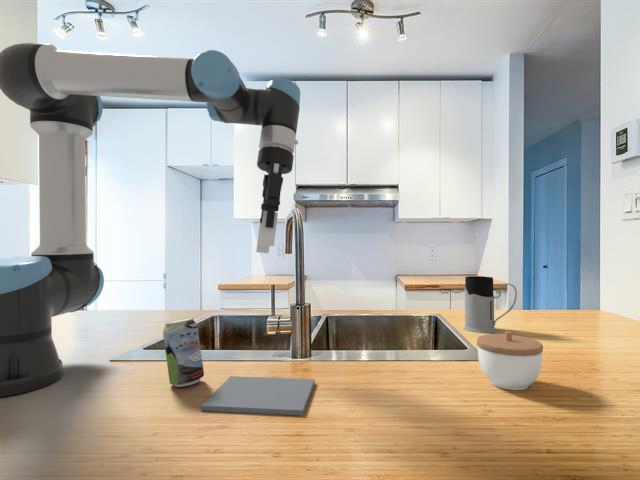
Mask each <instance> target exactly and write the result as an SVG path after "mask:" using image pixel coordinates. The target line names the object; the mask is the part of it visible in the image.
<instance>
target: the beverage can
mask: <svg viewBox="0 0 640 480" xmlns="http://www.w3.org/2000/svg"><path fill="white" fill-rule="evenodd" d="M199 334H200V333H199V326H198V324H197V322H196V321H195V320H194V317H186V318H185V317H184V318H180V319H173V320H171V321H167V322H165V325H164V328H163V329H162V335H163V343H164V348H165V349H164V350H165V358H166V364H167V372H168V374H167V375H168V382H169V384H170V385H174V387H176V388H181V387H188V386H191V385H194V384H196V383H197V384H198V382H200V381H201V379H202V378H203V377H204V376H205V371H204V364H203V357H202V356H203V355H202V348H201V342H200V335H199Z"/></svg>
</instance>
